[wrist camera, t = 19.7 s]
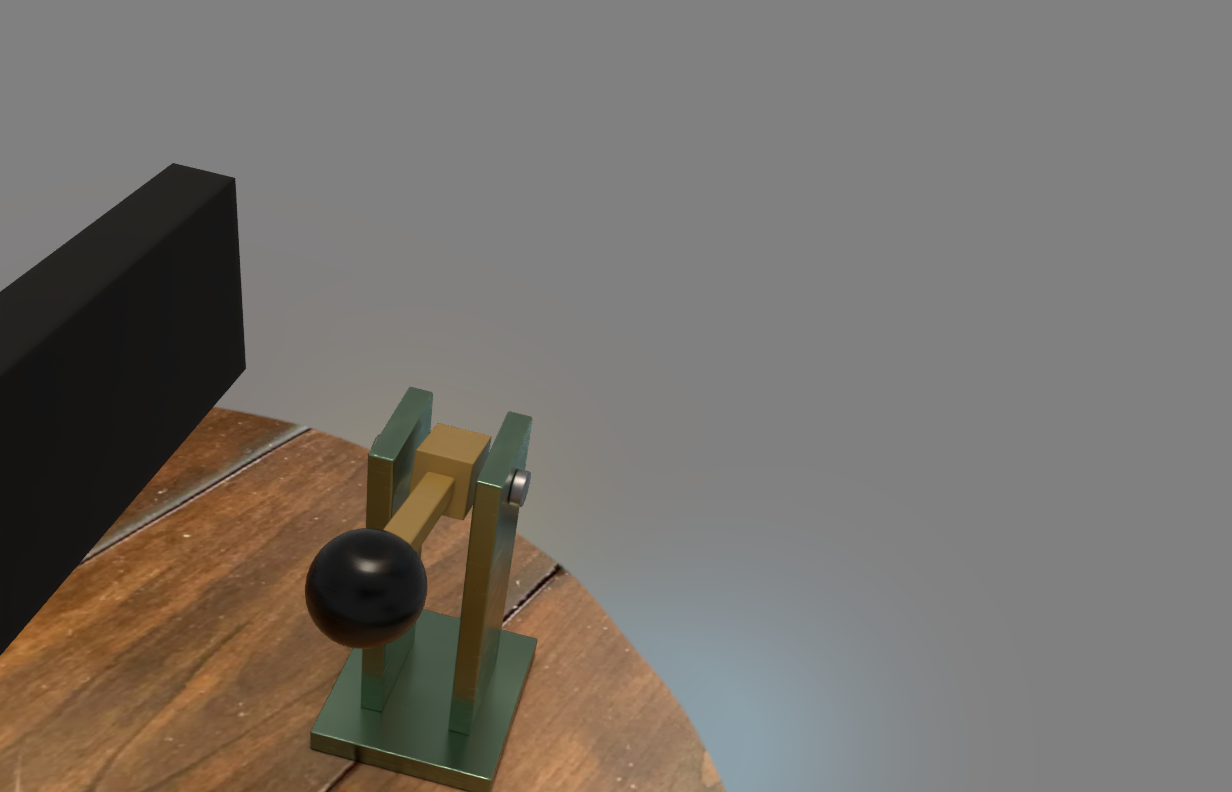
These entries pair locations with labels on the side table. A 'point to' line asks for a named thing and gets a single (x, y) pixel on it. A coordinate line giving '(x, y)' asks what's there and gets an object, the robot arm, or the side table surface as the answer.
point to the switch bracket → (440, 630)
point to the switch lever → (394, 548)
